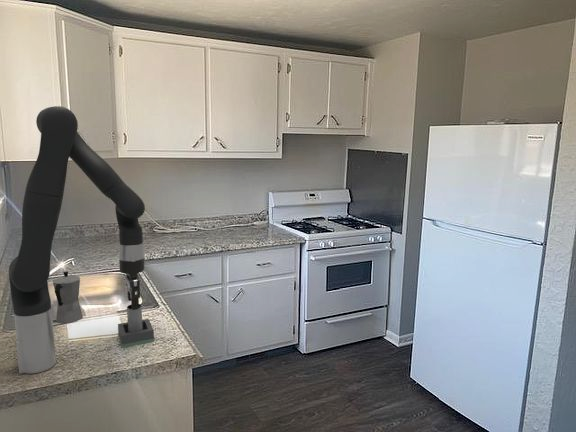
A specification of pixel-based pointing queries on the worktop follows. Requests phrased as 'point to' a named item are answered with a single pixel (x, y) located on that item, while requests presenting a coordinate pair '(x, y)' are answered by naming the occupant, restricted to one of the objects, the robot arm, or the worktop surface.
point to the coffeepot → (67, 298)
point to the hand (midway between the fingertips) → (133, 304)
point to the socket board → (135, 334)
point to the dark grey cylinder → (134, 319)
